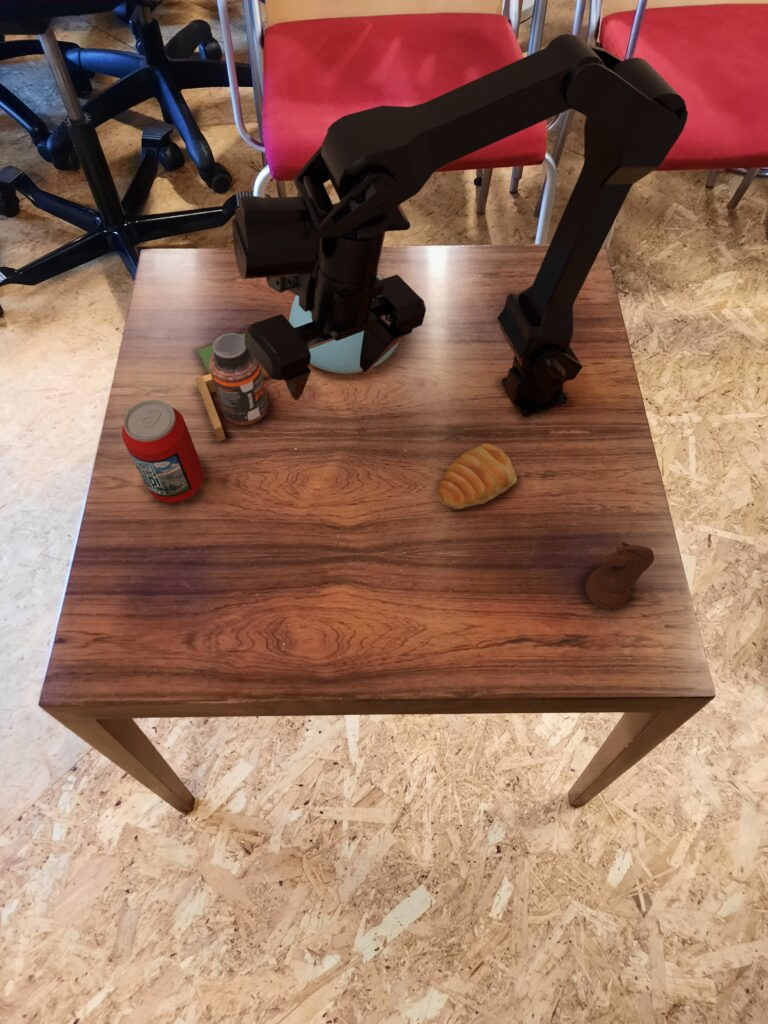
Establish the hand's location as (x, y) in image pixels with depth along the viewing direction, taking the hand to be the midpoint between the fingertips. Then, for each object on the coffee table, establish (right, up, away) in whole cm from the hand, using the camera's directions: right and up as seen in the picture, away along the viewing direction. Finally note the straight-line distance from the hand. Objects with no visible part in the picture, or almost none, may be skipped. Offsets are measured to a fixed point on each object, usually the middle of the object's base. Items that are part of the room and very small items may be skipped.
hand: (329, 382), depth 81 cm
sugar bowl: (+1, +9, +19) cm, 21 cm away
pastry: (+17, -11, +7) cm, 21 cm away
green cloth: (-14, +7, +17) cm, 23 cm away
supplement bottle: (-12, -1, +13) cm, 17 cm away
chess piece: (+30, -23, -1) cm, 38 cm away
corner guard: (-12, 0, +13) cm, 17 cm away
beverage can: (-19, -11, +7) cm, 23 cm away
